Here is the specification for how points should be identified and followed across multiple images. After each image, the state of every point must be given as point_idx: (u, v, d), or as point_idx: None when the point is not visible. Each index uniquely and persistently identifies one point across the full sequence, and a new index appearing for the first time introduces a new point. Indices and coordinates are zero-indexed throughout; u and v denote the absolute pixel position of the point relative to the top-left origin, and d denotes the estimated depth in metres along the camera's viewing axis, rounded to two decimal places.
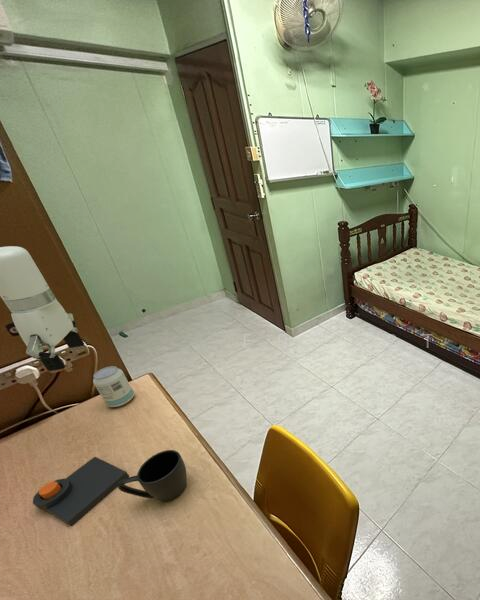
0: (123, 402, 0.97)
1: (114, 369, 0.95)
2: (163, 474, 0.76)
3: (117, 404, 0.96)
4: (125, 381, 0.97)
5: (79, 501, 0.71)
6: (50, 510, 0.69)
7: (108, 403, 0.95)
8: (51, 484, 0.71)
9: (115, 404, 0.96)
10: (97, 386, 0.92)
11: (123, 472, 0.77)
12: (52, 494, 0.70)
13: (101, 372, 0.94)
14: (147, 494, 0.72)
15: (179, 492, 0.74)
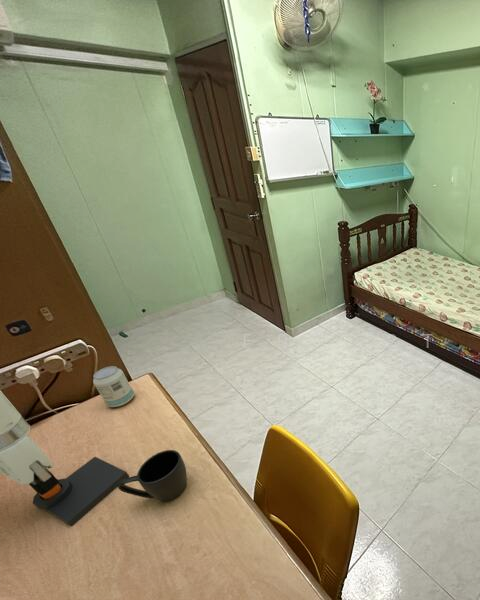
0: (123, 402, 0.97)
1: (114, 369, 0.95)
2: (163, 474, 0.76)
3: (117, 404, 0.96)
4: (125, 381, 0.97)
5: (79, 501, 0.71)
6: (50, 510, 0.69)
7: (108, 403, 0.95)
8: None
9: (115, 404, 0.96)
10: (97, 386, 0.92)
11: (123, 472, 0.77)
12: (52, 494, 0.70)
13: (101, 372, 0.94)
14: (147, 494, 0.72)
15: (179, 492, 0.74)
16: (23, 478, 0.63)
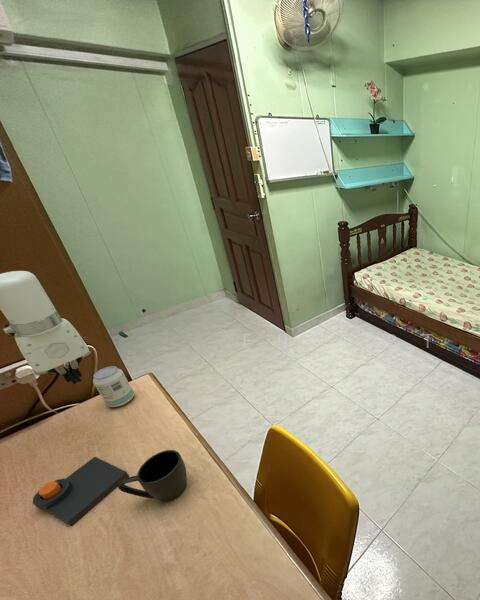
0: (123, 402, 0.97)
1: (114, 369, 0.95)
2: (163, 474, 0.76)
3: (117, 404, 0.96)
4: (125, 381, 0.97)
5: (79, 501, 0.71)
6: (50, 510, 0.69)
7: (108, 403, 0.95)
8: (51, 484, 0.71)
9: (115, 404, 0.96)
10: (97, 386, 0.92)
11: (123, 472, 0.77)
12: (52, 494, 0.70)
13: (101, 372, 0.94)
14: (147, 494, 0.72)
15: (179, 492, 0.74)
16: (85, 344, 0.80)
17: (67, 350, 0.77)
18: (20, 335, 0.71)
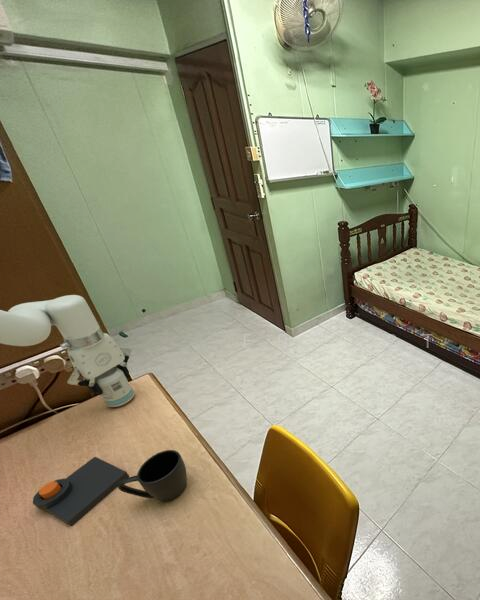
0: (123, 402, 0.97)
1: (114, 369, 0.95)
2: (163, 474, 0.76)
3: (117, 404, 0.96)
4: (125, 381, 0.97)
5: (79, 501, 0.71)
6: (50, 510, 0.69)
7: (108, 403, 0.95)
8: (51, 484, 0.71)
9: (115, 404, 0.96)
10: None
11: (123, 472, 0.77)
12: (52, 494, 0.70)
13: None
14: (147, 494, 0.72)
15: (179, 492, 0.74)
16: (122, 352, 0.95)
17: (110, 358, 0.92)
18: (74, 348, 0.85)
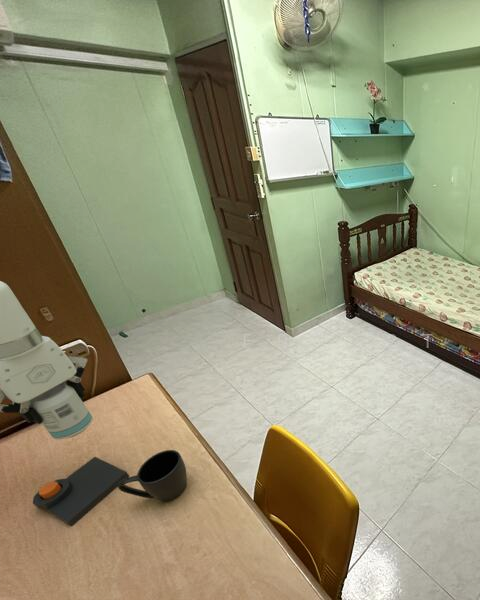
0: (75, 432, 0.70)
1: (61, 387, 0.68)
2: (163, 474, 0.76)
3: (66, 435, 0.69)
4: (78, 403, 0.70)
5: (79, 501, 0.71)
6: (50, 510, 0.69)
7: (53, 434, 0.68)
8: (51, 484, 0.71)
9: (62, 436, 0.68)
10: None
11: (123, 472, 0.77)
12: (52, 494, 0.70)
13: None
14: (147, 494, 0.72)
15: (179, 492, 0.74)
16: (72, 363, 0.68)
17: (52, 372, 0.64)
18: None
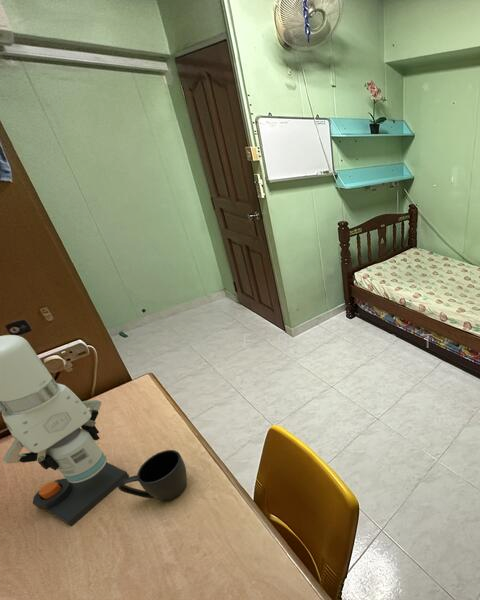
0: (90, 475, 0.70)
1: (77, 431, 0.69)
2: (163, 474, 0.76)
3: (81, 479, 0.70)
4: (92, 446, 0.70)
5: (79, 501, 0.71)
6: (50, 510, 0.69)
7: (68, 478, 0.69)
8: (51, 484, 0.71)
9: (78, 480, 0.69)
10: None
11: (123, 472, 0.77)
12: (52, 494, 0.70)
13: None
14: (147, 494, 0.72)
15: (179, 492, 0.74)
16: (87, 409, 0.69)
17: (68, 420, 0.65)
18: (12, 413, 0.58)
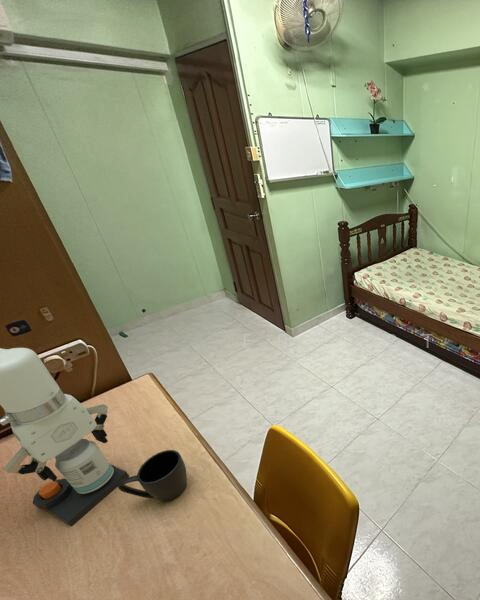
0: (98, 486, 0.72)
1: (85, 444, 0.71)
2: (163, 474, 0.76)
3: (89, 490, 0.72)
4: (100, 458, 0.72)
5: (79, 501, 0.71)
6: (50, 510, 0.69)
7: (77, 489, 0.71)
8: (51, 484, 0.71)
9: (86, 491, 0.71)
10: (60, 471, 0.67)
11: (123, 472, 0.77)
12: (52, 494, 0.70)
13: (67, 449, 0.70)
14: (147, 494, 0.72)
15: (179, 492, 0.74)
16: None
17: (75, 429, 0.67)
18: (21, 424, 0.60)
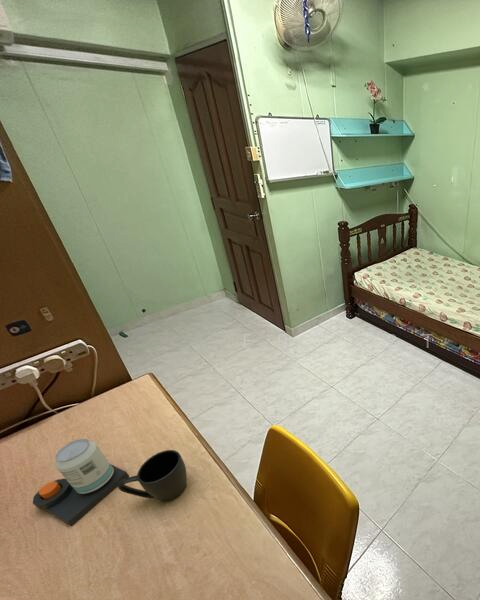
0: (98, 486, 0.72)
1: (85, 444, 0.71)
2: (163, 474, 0.76)
3: (89, 490, 0.72)
4: (100, 458, 0.72)
5: (79, 501, 0.71)
6: (50, 510, 0.69)
7: (77, 489, 0.71)
8: (51, 484, 0.71)
9: (86, 491, 0.71)
10: (60, 471, 0.67)
11: (123, 472, 0.77)
12: (52, 494, 0.70)
13: (67, 449, 0.70)
14: (147, 494, 0.72)
15: (179, 492, 0.74)
16: None
17: None
18: None
